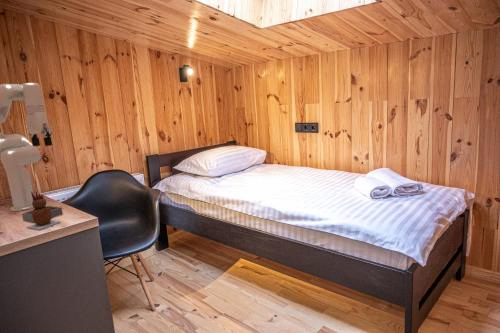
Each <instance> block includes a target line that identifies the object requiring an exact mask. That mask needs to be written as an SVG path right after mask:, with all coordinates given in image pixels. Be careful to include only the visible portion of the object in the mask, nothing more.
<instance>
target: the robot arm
mask: <svg viewBox="0 0 500 333" xmlns="http://www.w3.org/2000/svg"><path fill="white" fill-rule="evenodd" d="M13 101H23V102H24V107H25V111H26V112H25V113H26V125H27V132H28V135H29V137H30V140H31V141H30V140H29V139H28V138H27V137H25V135H22V134H19V133H14V134H4V133H2V132H1V131H0V161H1V163H2V166H3V167H4V170H5V173H6V177H7V178H6V179H7V183H8V187H9V191H10V196H11V199H12V201H11V203H12V205H13V206H11V207H9V208H10V211H11V212H20V211H26V210H27V211H28V210H31V209H35V208H34V207H33V205H32V202H33V198H32V193H31V191H32V192H33V194H34V195H35V192H34V189H33V184H32V178H31V174H30V172H29V170H28V169H27V168H25V166H26V165H27V166H28V165H32V164H35V163H38V162H39V161H40V160H41V157H42V155H41V154H42V153H41V152H40V150H39V148H38V146H39V147H40V146H41V142H40V137H38V136H39V135H40V134H41V135H42V136H43V142H44V146H45V147H49V146H50V147H51V146H53V141H52V134H53V133H52V130H53V129H52V127H51V126H50V124H49V121H48V116H47V115H46V107H45V102H44V99H43V92H42V87H41V85H40V84H39V83H37V82H25V83H22V84H21V83H3V84H2V83H1V84H0V124H1V125H2V124H3V123H5V122H6V120H7V118H8V116H9V113H10V110H11V108H12V105H13Z"/></svg>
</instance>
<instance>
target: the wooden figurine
mask: <svg viewBox="0 0 500 333" xmlns="http://www.w3.org/2000/svg"><path fill="white" fill-rule="evenodd" d="M31 193H32V198H33V202H32V205H33V207H34V208H32V210H31V211H32V218H33V220H34V222H35V223H34V224H37V225H46V224H48V223H50V221H51V220H52V218H51V210H50V208H49V207H47V206H48V205H47V200H46V199H45V198H44V196H43V194H40V193H38V192H37V191H35V193H34V191H33V192H32V191H31ZM33 193H34V194H33Z"/></svg>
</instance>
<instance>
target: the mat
mask: <svg viewBox="0 0 500 333" xmlns="http://www.w3.org/2000/svg"><path fill="white" fill-rule="evenodd" d="M61 223H62V222H61V221H59V220H52V219H51V221H50V223H48V224H46V225H37V224H36V223H33V224H32V225H29V226H26V229H28V230H34V231H42V230H45V229H48V228H51V227H53V226H56V225H60V224H61Z"/></svg>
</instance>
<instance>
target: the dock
mask: <svg viewBox="0 0 500 333" xmlns="http://www.w3.org/2000/svg"><path fill="white" fill-rule="evenodd" d="M46 206H47V207H49V208H50V210H51V219H53V218H57V217H60V216H63V214H64V212H63V208H62V207H60V206H55V205H54V206H53V205H46ZM21 217H22V221H23V222H27V223H33V224H36V223H35V222H34V220H33V218H32V210H30V211H26V212H23V213H21Z"/></svg>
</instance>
